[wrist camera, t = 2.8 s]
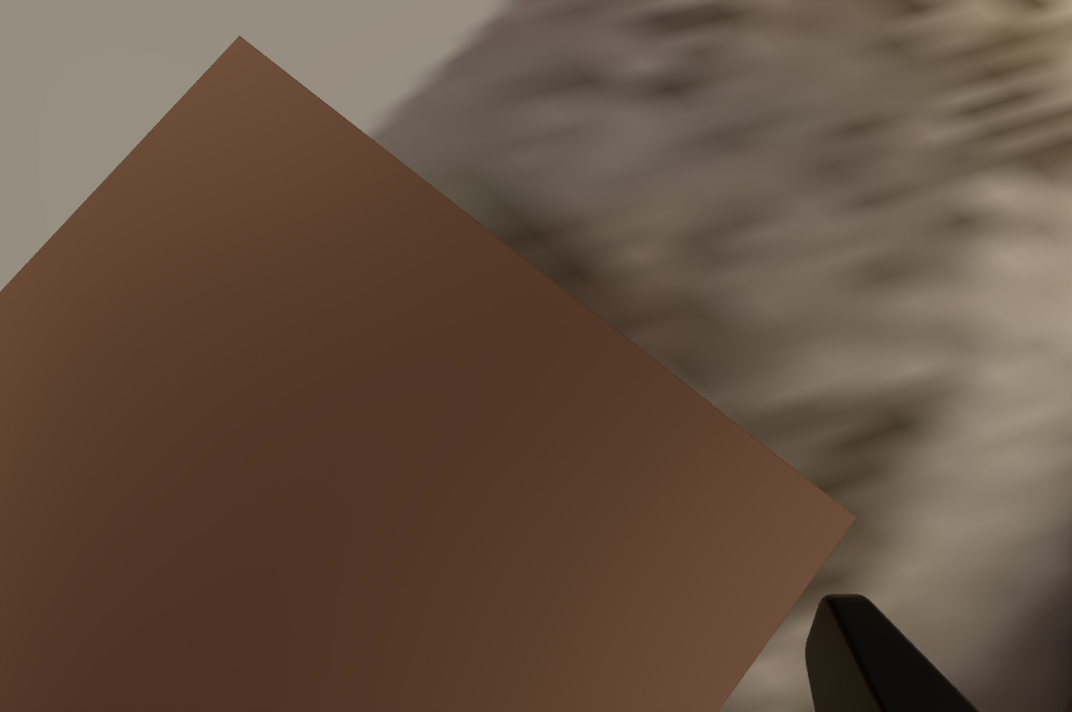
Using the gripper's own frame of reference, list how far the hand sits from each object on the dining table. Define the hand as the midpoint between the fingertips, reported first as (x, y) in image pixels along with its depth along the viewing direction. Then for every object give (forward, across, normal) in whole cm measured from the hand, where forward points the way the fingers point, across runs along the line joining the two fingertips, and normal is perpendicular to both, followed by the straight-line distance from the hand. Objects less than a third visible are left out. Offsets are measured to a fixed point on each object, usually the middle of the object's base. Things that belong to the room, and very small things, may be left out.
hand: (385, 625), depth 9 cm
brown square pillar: (+7, 0, +6) cm, 9 cm away
